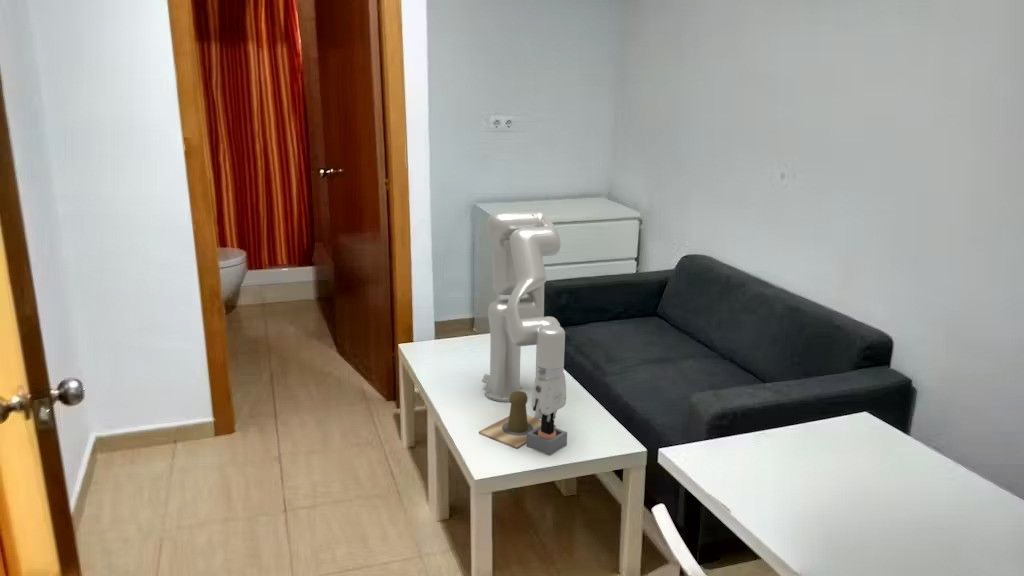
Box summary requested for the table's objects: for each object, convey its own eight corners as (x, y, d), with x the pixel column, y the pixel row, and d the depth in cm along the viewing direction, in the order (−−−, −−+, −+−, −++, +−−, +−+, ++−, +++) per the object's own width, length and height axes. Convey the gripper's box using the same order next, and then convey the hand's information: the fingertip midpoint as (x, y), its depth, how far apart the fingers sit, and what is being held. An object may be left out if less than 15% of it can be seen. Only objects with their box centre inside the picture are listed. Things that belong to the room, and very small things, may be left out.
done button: (534, 442, 217) (534, 432, 216) (544, 436, 221) (545, 426, 220) (548, 447, 214) (548, 438, 213) (559, 441, 218) (559, 431, 217)
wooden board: (478, 433, 224) (478, 431, 224) (518, 413, 237) (518, 410, 237) (516, 449, 216) (516, 446, 215) (555, 427, 229) (555, 424, 229)
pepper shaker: (525, 433, 223) (527, 398, 220) (505, 431, 224) (506, 396, 221) (530, 424, 228) (531, 389, 225) (509, 422, 230) (510, 387, 227)
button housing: (526, 446, 217) (526, 433, 216) (543, 436, 223) (544, 423, 222) (549, 455, 212) (550, 442, 211) (566, 445, 218) (567, 432, 217)
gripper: (544, 382, 204) (541, 446, 209) (576, 366, 215) (573, 427, 220) (521, 374, 208) (519, 437, 213) (554, 359, 219) (552, 419, 224)
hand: (547, 432), depth 216 cm, fingers closed
